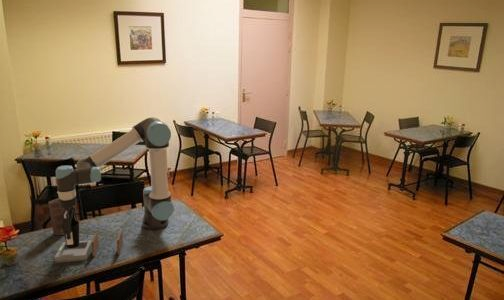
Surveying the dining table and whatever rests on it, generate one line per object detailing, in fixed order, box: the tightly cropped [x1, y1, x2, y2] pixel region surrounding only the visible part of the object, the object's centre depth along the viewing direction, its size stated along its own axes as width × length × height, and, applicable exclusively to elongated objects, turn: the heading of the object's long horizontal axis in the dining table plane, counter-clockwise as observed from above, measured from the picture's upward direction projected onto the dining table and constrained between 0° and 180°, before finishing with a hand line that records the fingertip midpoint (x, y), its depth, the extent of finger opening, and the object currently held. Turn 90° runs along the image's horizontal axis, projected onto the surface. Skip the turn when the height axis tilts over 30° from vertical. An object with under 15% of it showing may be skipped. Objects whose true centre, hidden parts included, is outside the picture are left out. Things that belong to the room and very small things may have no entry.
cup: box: [62, 220, 80, 248], centre depth 185 cm, size 8×8×12 cm
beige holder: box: [91, 230, 124, 257], centre depth 191 cm, size 13×10×8 cm
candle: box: [48, 197, 64, 236], centre depth 204 cm, size 8×7×20 cm
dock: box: [54, 240, 92, 264], centre depth 187 cm, size 14×14×3 cm
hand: (72, 239), depth 186 cm, fingers closed on cup, 8 cm apart
